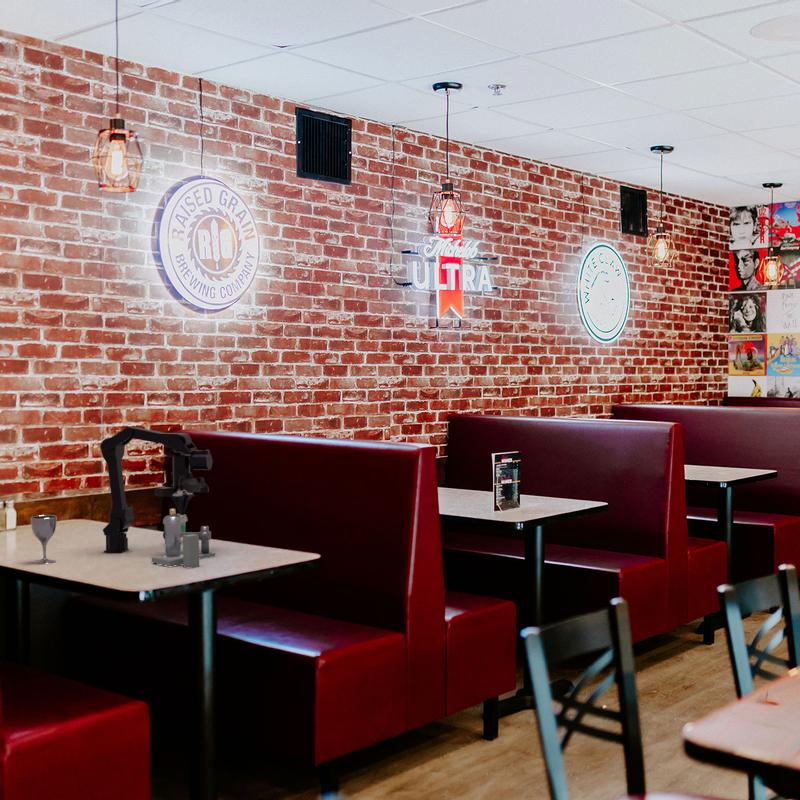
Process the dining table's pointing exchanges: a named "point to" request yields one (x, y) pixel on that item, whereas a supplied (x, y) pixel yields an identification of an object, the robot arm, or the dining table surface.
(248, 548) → the dining table surface
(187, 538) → the press
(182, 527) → the food container
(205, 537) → the lever
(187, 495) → the robot arm
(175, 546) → the grey bottle
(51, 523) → the wine glass
